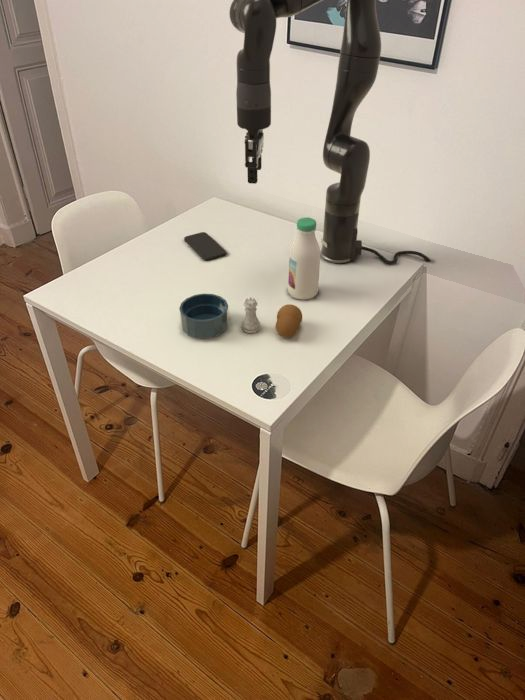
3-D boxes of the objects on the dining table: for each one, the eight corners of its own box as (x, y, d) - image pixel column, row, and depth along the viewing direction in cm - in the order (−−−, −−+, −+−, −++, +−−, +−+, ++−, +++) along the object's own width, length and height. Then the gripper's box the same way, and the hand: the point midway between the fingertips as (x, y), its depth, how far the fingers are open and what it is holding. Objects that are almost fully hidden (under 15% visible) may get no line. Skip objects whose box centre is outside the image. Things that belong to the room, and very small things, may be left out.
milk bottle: (321, 287, 140) (326, 216, 127) (313, 302, 134) (318, 230, 122) (292, 282, 142) (295, 212, 129) (284, 297, 136) (286, 225, 124)
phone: (204, 259, 150) (182, 237, 160) (204, 261, 150) (182, 239, 160) (227, 252, 153) (204, 231, 163) (227, 254, 153) (205, 233, 163)
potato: (302, 320, 129) (303, 300, 125) (300, 343, 122) (301, 322, 118) (277, 319, 129) (278, 298, 125) (274, 341, 122) (274, 320, 118)
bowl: (232, 313, 131) (231, 294, 127) (224, 341, 122) (223, 322, 119) (187, 310, 132) (185, 292, 128) (177, 338, 123) (174, 319, 120)
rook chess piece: (258, 335, 124) (258, 307, 119) (239, 333, 125) (238, 304, 120) (262, 324, 128) (261, 296, 122) (243, 321, 128) (243, 294, 123)
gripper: (267, 113, 110) (267, 188, 120) (273, 95, 121) (273, 165, 131) (231, 112, 111) (234, 187, 121) (241, 94, 122) (243, 164, 132)
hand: (254, 175), depth 126 cm, fingers open, 8 cm apart
